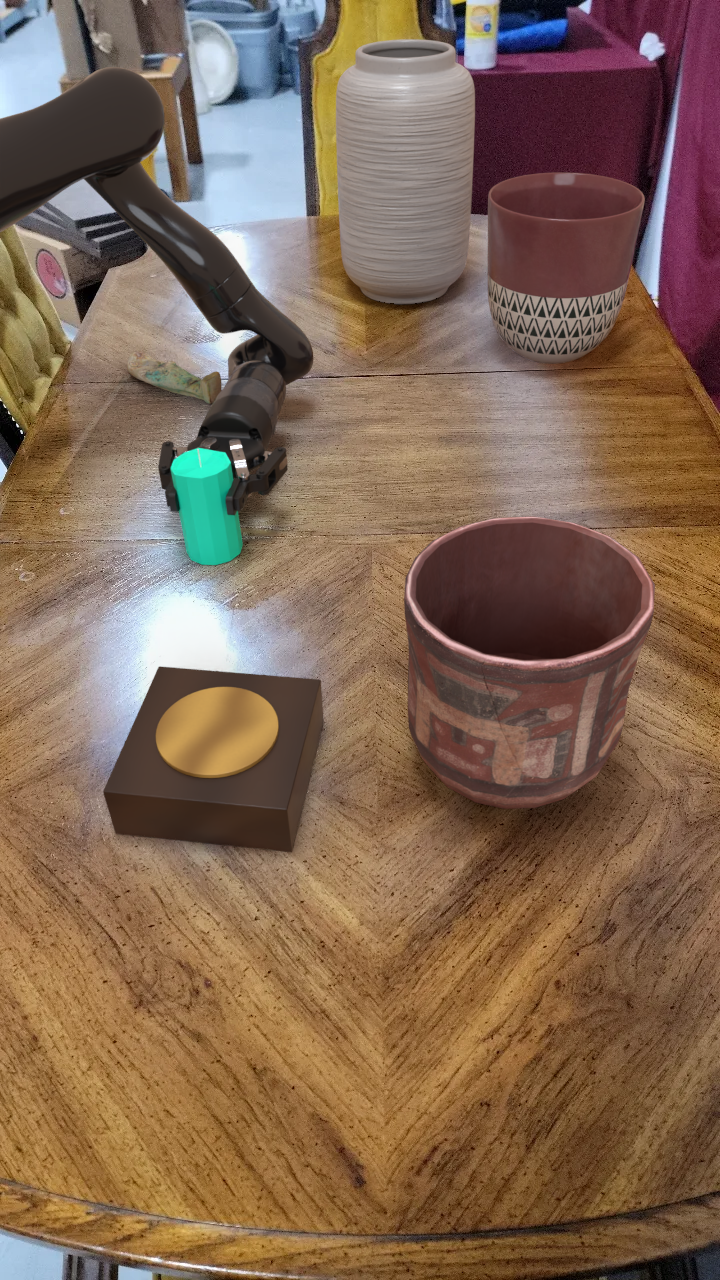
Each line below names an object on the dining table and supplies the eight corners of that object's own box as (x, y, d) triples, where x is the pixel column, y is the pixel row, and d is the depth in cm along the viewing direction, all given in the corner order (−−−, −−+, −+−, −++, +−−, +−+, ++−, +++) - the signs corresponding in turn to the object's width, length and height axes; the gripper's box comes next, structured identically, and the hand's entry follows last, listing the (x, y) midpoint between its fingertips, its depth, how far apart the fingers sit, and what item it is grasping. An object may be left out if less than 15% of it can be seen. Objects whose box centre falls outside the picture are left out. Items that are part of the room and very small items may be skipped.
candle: (227, 569, 102) (211, 469, 95) (176, 559, 104) (156, 460, 96) (252, 537, 107) (238, 438, 99) (202, 528, 108) (185, 430, 100)
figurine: (194, 413, 129) (190, 385, 126) (121, 380, 136) (116, 354, 134) (225, 398, 132) (222, 371, 129) (152, 367, 140) (148, 341, 137)
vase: (316, 295, 158) (303, 54, 136) (386, 256, 170) (385, 30, 148) (424, 322, 149) (429, 69, 127) (490, 279, 161) (504, 42, 139)
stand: (115, 834, 77) (101, 788, 73) (167, 707, 87) (157, 662, 84) (292, 852, 75) (286, 806, 71) (323, 721, 85) (320, 675, 82)
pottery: (621, 855, 74) (663, 678, 62) (388, 826, 77) (387, 651, 65) (616, 693, 87) (650, 522, 75) (418, 672, 90) (421, 504, 78)
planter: (504, 394, 131) (517, 226, 117) (462, 334, 145) (469, 179, 131) (642, 377, 133) (671, 211, 119) (588, 320, 148) (608, 167, 134)
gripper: (174, 390, 110) (125, 469, 97) (300, 396, 108) (268, 477, 96) (183, 450, 115) (138, 533, 102) (305, 456, 113) (274, 541, 100)
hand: (201, 505), depth 99 cm, fingers closed on candle, 5 cm apart
